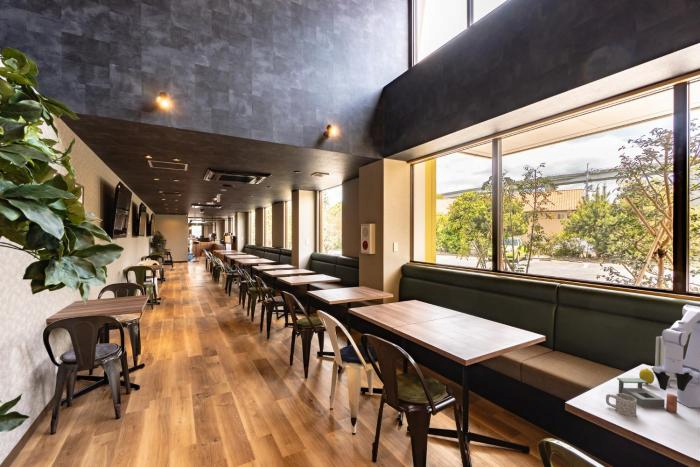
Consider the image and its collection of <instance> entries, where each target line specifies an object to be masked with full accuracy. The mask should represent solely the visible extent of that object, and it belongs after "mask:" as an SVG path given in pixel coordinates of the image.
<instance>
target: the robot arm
mask: <svg viewBox="0 0 700 467" xmlns="http://www.w3.org/2000/svg"><path fill="white" fill-rule="evenodd" d="M681 313H682V318H681V320H676V321H674V323H672V325H671V326H670V327H669V328H666V329H663V331H662V333H661V336H662V340H663V345H664V366H658V367H654V370H652V373H653V374H654V377H656V378H655V379H656V380H657V382H658V383H659V384H658V386H659V388H660V390H663V391H667V388H668V386H667V383H668V380H669V378H670V376H668V375H666V374H665V373H672V374H673V376H674V378H675V381H676V386H677V391H676V396H677V403H678V402H679V403H680V404H682V405H684V406H686V407H687V408H700V306H697V305H691V304H685V305H684V306H683V307H682V312H681ZM689 335H690V337H689ZM688 339H689V341H688ZM687 341H688V343H687ZM686 344H688V345H687V348H686V353H685V357H684V346H686Z"/></svg>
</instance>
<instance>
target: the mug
mask: <svg viewBox="0 0 700 467" xmlns="http://www.w3.org/2000/svg"><path fill="white" fill-rule="evenodd" d="M610 398H612V399H615V404H614V403H611V402H610ZM605 402H606V404H607V405H608V406H610V407H612V408H613V409H615V412H616V413H618V414H620V415H622V416H625V417H629V418H636V417H637V408H638V407H637V406H638V405H637V399H636V398H634V397H632V396H630V395H627V394H623V393H619V392H617V393H616V394H609V393H608V394H606V396H605Z"/></svg>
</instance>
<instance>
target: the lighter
mask: <svg viewBox="0 0 700 467" xmlns="http://www.w3.org/2000/svg"><path fill="white" fill-rule="evenodd" d="M654 367H655V365H654V366H653V365H652V366H650V368H651V371H653V370H654ZM658 385H659V383H658ZM667 387H669V388H670V387H671V380H670V378H669V380H668V383H667Z"/></svg>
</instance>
